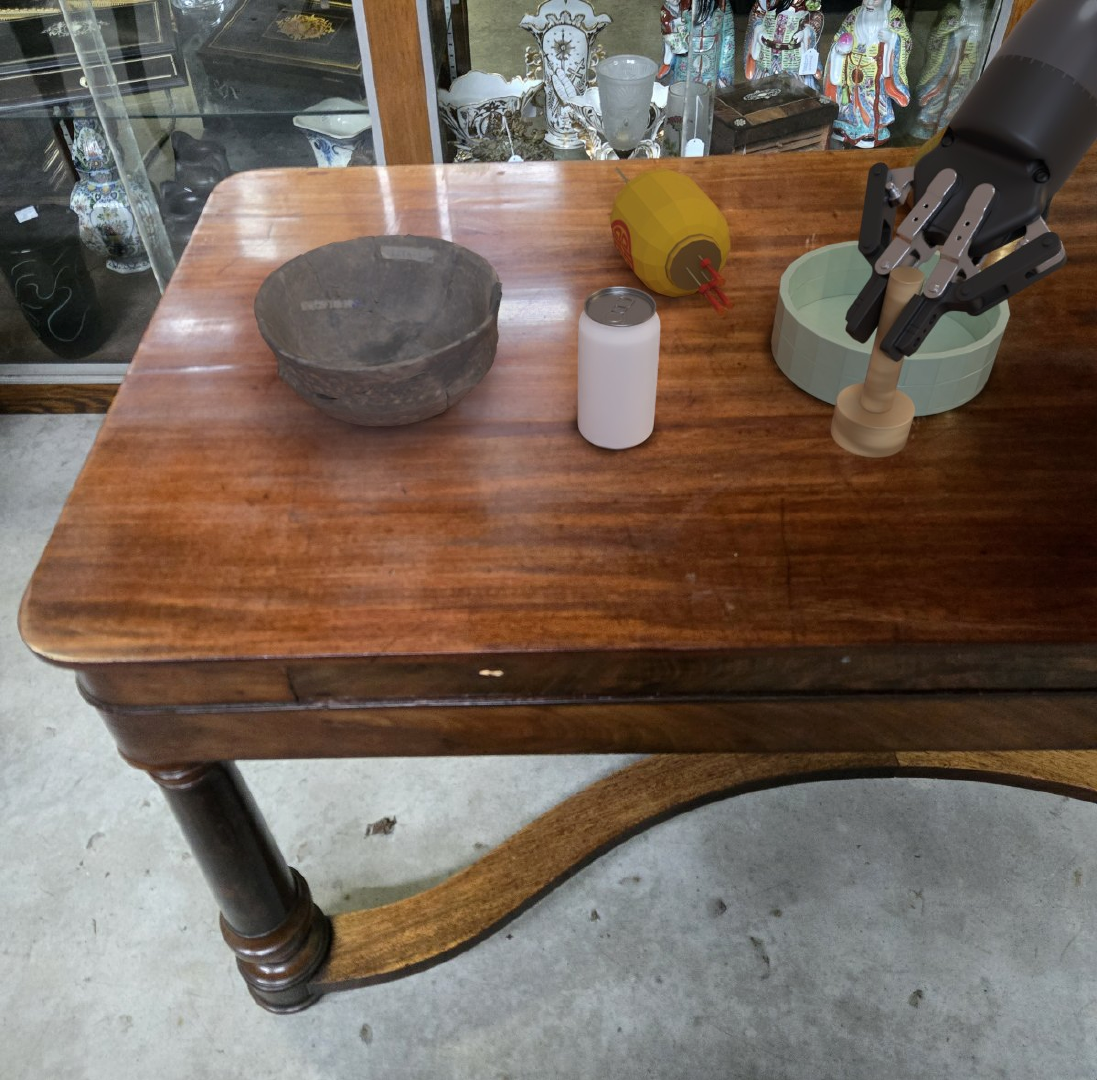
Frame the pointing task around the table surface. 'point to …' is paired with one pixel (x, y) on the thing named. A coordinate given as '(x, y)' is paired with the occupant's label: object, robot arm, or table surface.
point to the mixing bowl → (840, 361)
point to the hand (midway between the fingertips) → (871, 345)
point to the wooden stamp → (879, 385)
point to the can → (617, 367)
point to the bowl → (382, 326)
